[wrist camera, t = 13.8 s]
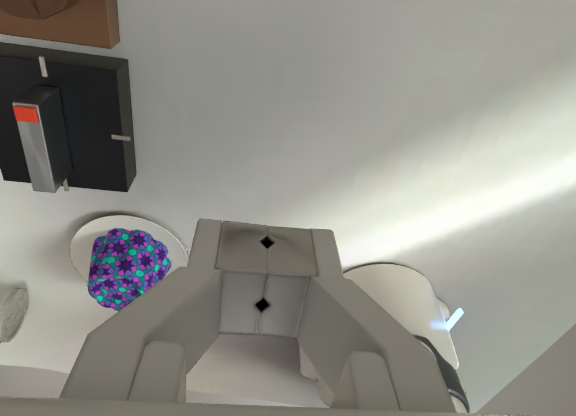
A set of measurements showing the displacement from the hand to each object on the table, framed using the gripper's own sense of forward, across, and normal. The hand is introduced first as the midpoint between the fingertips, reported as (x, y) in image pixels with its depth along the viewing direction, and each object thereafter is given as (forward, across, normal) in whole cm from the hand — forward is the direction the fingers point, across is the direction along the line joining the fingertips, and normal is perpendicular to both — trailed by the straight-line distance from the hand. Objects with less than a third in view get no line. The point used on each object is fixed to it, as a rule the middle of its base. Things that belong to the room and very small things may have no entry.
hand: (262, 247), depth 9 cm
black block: (+26, +15, +9) cm, 32 cm away
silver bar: (+23, +15, +9) cm, 29 cm away
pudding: (+27, +12, +24) cm, 38 cm away
